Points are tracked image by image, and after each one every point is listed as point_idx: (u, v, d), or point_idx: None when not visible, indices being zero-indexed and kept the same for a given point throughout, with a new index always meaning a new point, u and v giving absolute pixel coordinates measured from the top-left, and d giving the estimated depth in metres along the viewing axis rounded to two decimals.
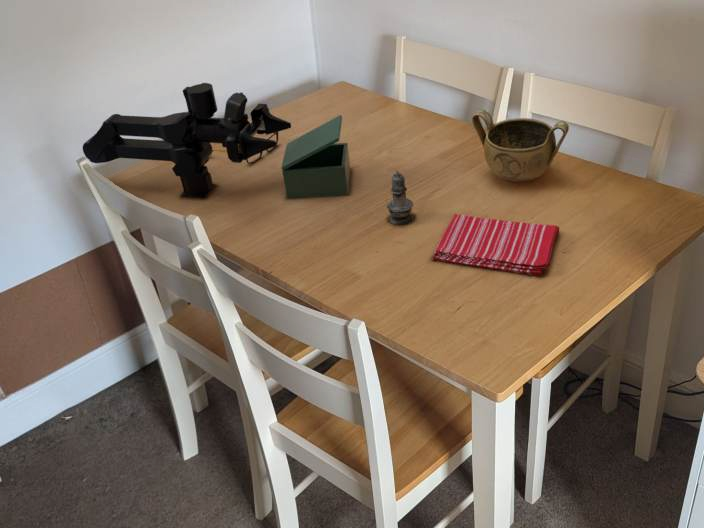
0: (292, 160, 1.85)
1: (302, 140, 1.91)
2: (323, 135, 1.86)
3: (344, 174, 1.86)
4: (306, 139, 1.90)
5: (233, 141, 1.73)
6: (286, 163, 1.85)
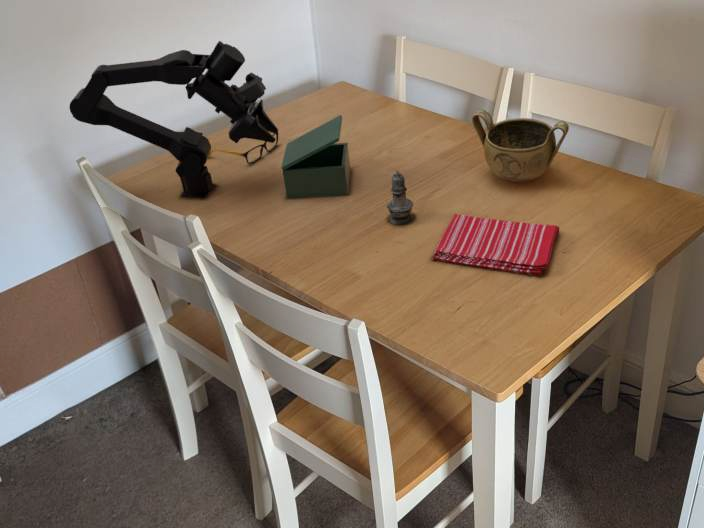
0: (292, 160, 1.85)
1: (302, 140, 1.91)
2: (323, 135, 1.86)
3: (344, 174, 1.86)
4: (306, 139, 1.90)
5: (248, 126, 1.76)
6: (286, 163, 1.85)
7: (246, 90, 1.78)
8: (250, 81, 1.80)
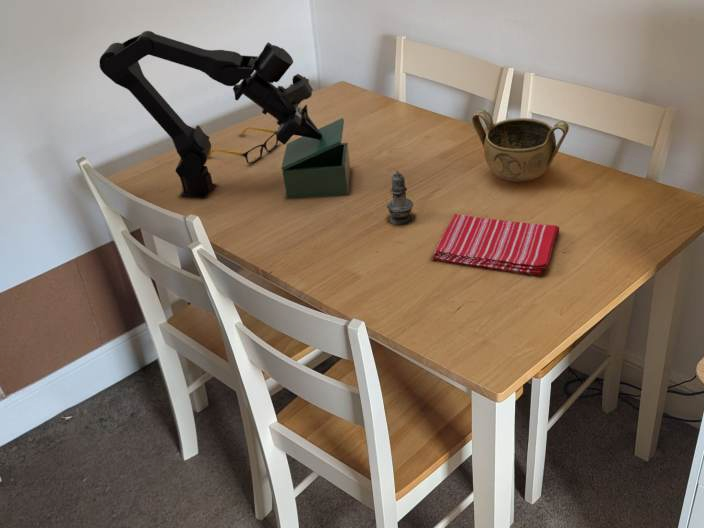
0: (292, 161, 1.85)
1: (303, 141, 1.91)
2: (324, 137, 1.86)
3: (344, 174, 1.86)
4: (307, 140, 1.90)
5: (297, 127, 1.76)
6: (286, 163, 1.85)
7: (294, 91, 1.78)
8: (297, 82, 1.80)
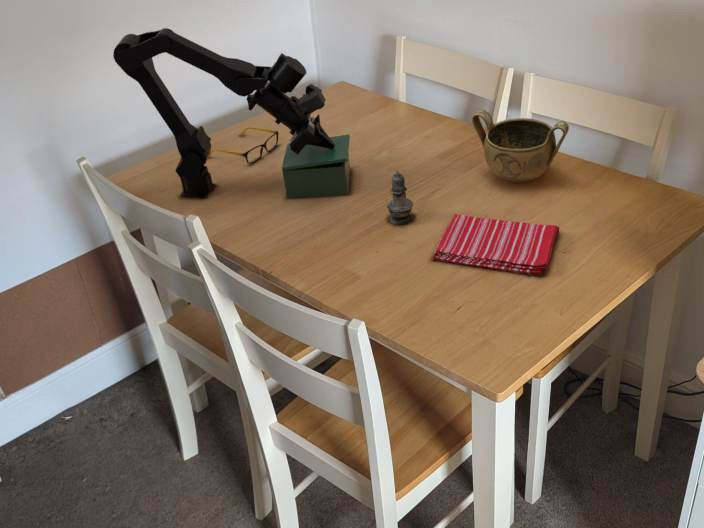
0: (294, 164, 1.85)
1: (305, 146, 1.92)
2: (330, 149, 1.88)
3: (344, 174, 1.86)
4: (310, 147, 1.91)
5: (310, 137, 1.77)
6: (287, 165, 1.86)
7: (307, 102, 1.79)
8: (310, 92, 1.82)
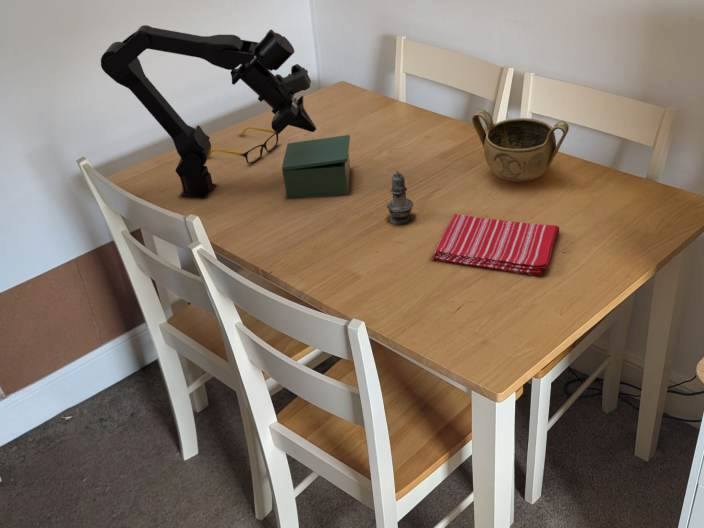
0: (294, 164, 1.85)
1: (305, 146, 1.92)
2: (330, 150, 1.88)
3: (344, 174, 1.86)
4: (310, 147, 1.91)
5: (293, 118, 1.74)
6: (287, 165, 1.86)
7: (292, 81, 1.76)
8: (296, 72, 1.79)
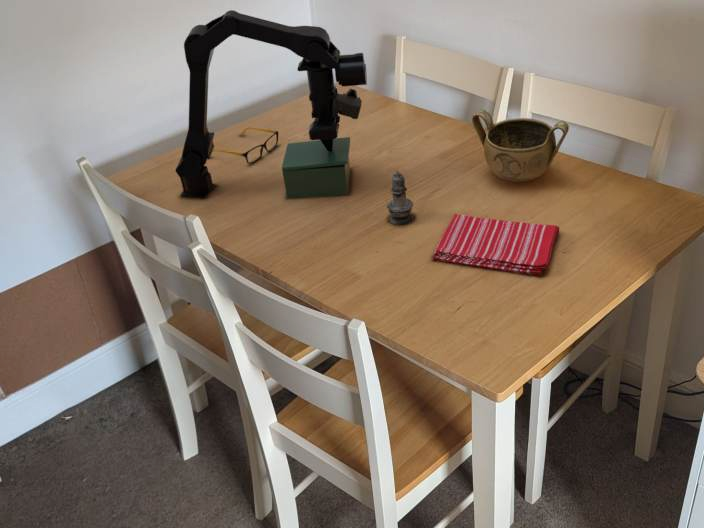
0: (295, 164, 1.86)
1: (306, 147, 1.92)
2: (330, 151, 1.89)
3: (344, 174, 1.86)
4: (310, 148, 1.91)
5: (333, 137, 1.77)
6: (288, 165, 1.86)
7: (348, 105, 1.80)
8: (352, 98, 1.82)
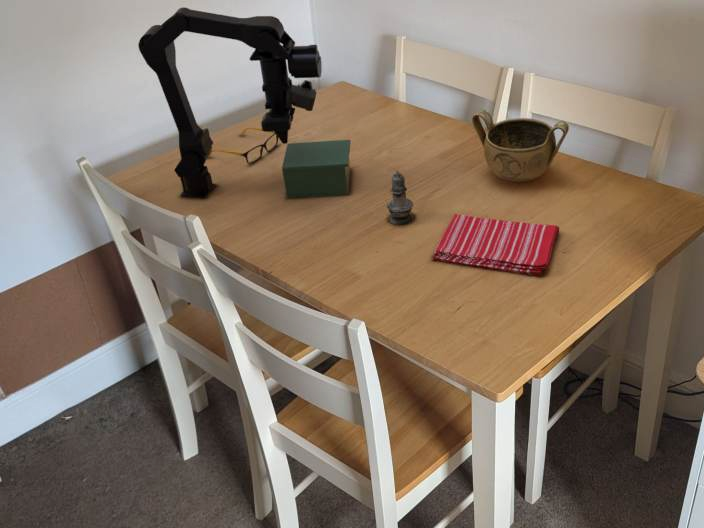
0: (295, 165, 1.86)
1: (306, 148, 1.92)
2: (331, 153, 1.89)
3: (344, 174, 1.86)
4: (311, 149, 1.92)
5: (286, 129, 1.74)
6: (288, 165, 1.86)
7: (302, 97, 1.77)
8: (307, 89, 1.80)
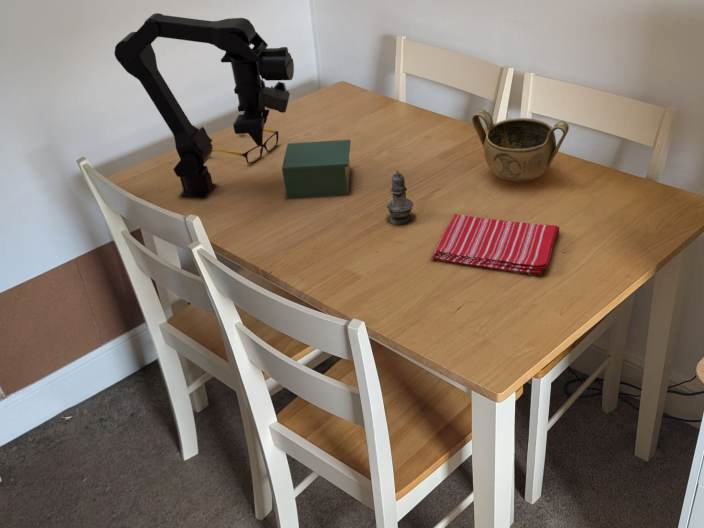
0: (295, 165, 1.86)
1: (306, 148, 1.92)
2: (331, 153, 1.89)
3: (344, 174, 1.86)
4: (311, 149, 1.92)
5: (258, 131, 1.73)
6: (288, 165, 1.86)
7: (275, 98, 1.76)
8: (280, 91, 1.79)
